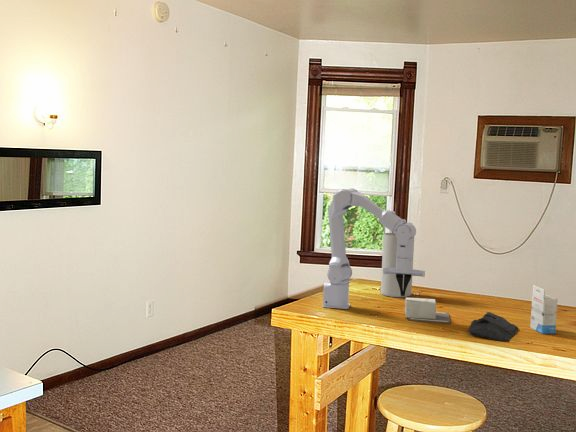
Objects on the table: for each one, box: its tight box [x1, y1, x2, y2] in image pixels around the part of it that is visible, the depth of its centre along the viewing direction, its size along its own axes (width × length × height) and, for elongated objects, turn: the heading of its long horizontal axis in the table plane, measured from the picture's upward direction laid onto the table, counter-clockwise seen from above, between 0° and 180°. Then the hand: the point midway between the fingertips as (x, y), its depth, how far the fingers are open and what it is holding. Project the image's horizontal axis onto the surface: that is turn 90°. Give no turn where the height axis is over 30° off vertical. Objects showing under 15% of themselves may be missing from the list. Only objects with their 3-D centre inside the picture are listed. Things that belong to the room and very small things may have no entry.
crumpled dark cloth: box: [467, 311, 519, 343], centre depth 211 cm, size 15×22×5 cm
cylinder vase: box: [380, 232, 415, 299], centre depth 264 cm, size 12×12×25 cm
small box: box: [404, 297, 437, 319], centre depth 227 cm, size 8×6×10 cm
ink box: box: [529, 284, 559, 335], centre depth 214 cm, size 9×5×15 cm, turn 5°
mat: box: [408, 311, 451, 325], centre depth 227 cm, size 14×14×1 cm
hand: (402, 295), depth 228 cm, fingers closed
